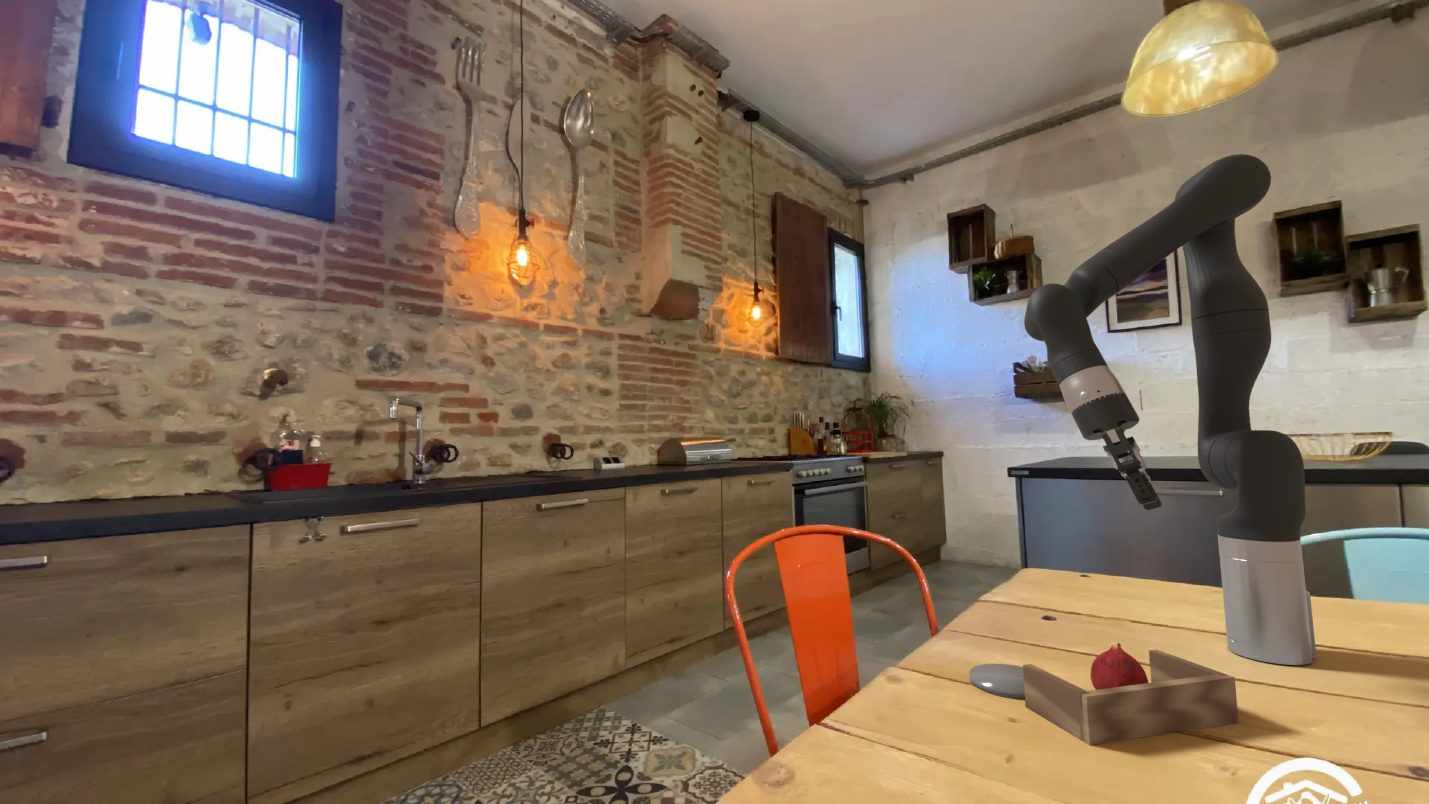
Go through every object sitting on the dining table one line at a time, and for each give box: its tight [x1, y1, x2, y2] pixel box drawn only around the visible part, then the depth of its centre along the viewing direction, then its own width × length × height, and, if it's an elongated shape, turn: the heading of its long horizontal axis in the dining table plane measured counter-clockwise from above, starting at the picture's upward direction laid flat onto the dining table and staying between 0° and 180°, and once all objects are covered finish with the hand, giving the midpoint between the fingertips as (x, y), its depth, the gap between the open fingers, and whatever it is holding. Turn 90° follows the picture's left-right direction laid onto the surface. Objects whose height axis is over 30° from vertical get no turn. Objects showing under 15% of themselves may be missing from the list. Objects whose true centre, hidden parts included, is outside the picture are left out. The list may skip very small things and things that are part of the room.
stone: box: [968, 663, 1025, 700], centre depth 80 cm, size 10×10×1 cm
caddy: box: [1022, 649, 1240, 746], centre depth 70 cm, size 20×10×5 cm, turn 102°
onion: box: [1090, 640, 1149, 690], centre depth 71 cm, size 6×6×8 cm
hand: (1152, 505), depth 82 cm, fingers open, 8 cm apart
